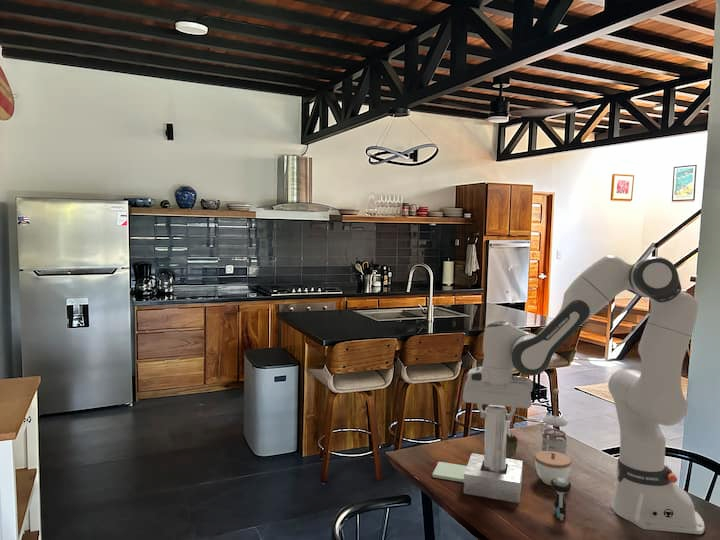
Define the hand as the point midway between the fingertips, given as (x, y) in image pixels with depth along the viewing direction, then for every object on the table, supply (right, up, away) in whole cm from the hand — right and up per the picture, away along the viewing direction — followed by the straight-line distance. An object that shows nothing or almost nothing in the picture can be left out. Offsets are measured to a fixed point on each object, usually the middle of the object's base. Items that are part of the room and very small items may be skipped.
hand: (496, 418), depth 161 cm
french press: (+25, -20, +22) cm, 39 cm away
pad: (-12, -21, +10) cm, 26 cm away
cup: (+9, -20, +21) cm, 30 cm away
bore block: (0, -21, +1) cm, 21 cm away
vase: (+11, -19, +32) cm, 39 cm away
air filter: (0, -21, +1) cm, 21 cm away
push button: (+14, -23, -15) cm, 31 cm away
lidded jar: (+19, -21, +5) cm, 29 cm away
